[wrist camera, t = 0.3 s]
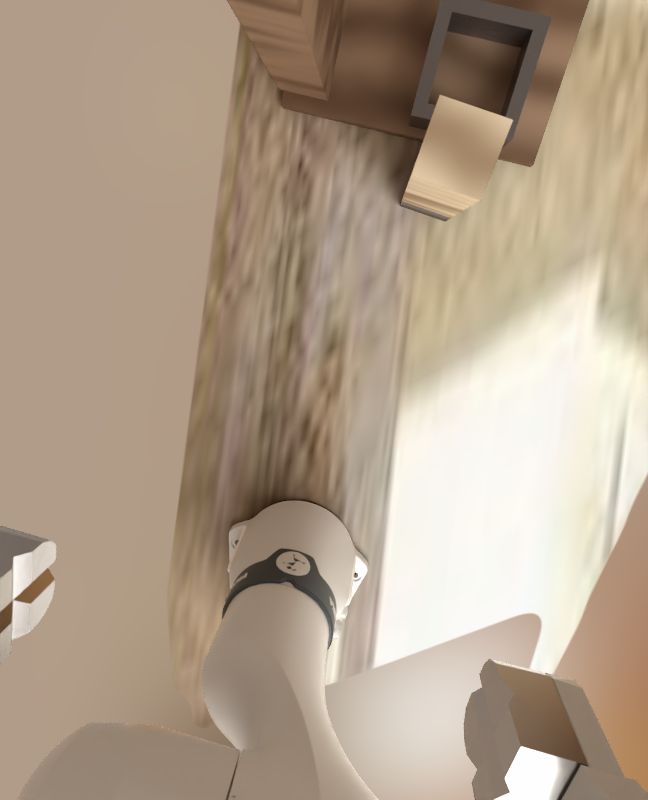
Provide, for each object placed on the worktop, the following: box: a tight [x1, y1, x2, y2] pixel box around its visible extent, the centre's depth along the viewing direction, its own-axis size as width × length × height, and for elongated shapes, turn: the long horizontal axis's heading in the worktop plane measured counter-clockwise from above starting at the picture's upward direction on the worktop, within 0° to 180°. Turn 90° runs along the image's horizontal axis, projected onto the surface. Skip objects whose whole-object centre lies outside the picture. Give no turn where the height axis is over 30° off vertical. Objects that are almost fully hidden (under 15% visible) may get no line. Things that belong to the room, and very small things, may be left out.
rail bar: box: [400, 95, 513, 221], centre depth 39 cm, size 5×5×18 cm
